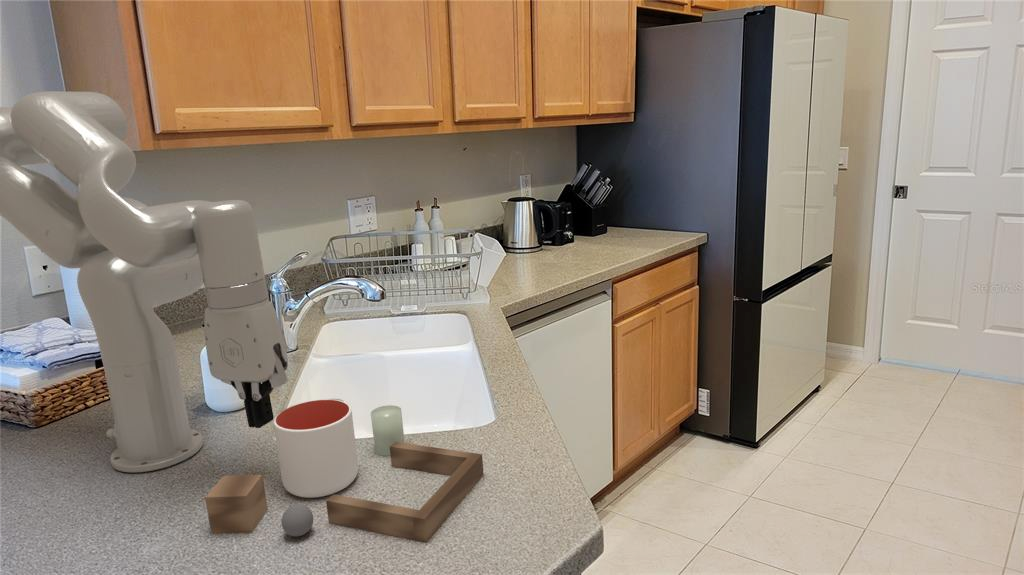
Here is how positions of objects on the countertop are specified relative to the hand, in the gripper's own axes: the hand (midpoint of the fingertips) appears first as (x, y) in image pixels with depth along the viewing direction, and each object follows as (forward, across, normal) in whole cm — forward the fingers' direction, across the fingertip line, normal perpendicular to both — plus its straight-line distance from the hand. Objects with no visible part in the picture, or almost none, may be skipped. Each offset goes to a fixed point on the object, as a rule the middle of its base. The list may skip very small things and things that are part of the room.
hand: (261, 423), depth 96 cm
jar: (+8, +13, +11) cm, 19 cm away
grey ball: (+8, +14, -11) cm, 19 cm away
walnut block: (+8, +5, -11) cm, 14 cm away
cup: (+8, +9, 0) cm, 12 cm away
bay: (+8, +22, 0) cm, 23 cm away
